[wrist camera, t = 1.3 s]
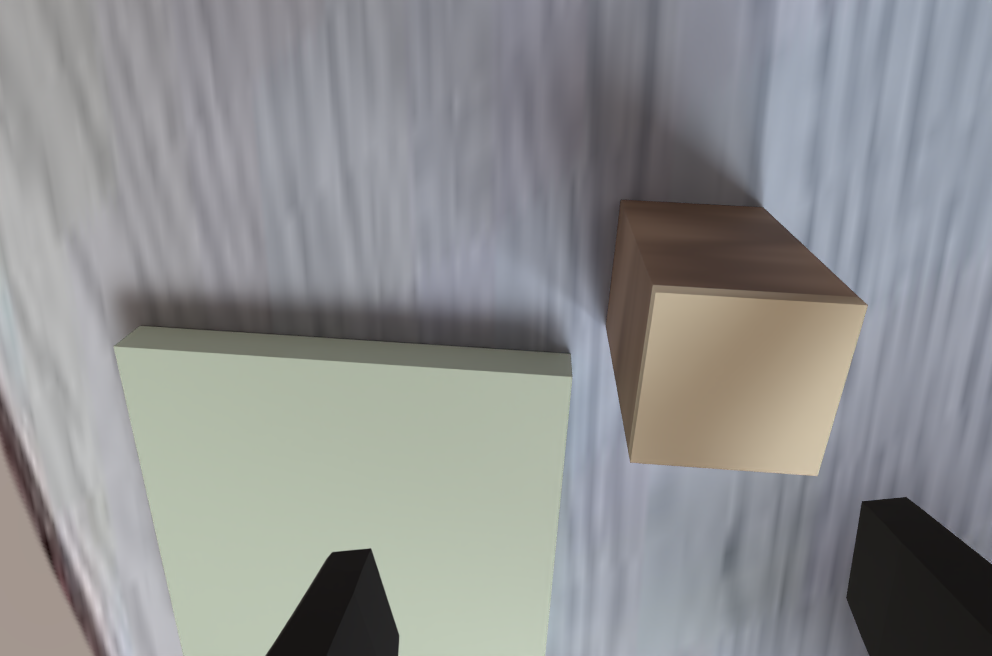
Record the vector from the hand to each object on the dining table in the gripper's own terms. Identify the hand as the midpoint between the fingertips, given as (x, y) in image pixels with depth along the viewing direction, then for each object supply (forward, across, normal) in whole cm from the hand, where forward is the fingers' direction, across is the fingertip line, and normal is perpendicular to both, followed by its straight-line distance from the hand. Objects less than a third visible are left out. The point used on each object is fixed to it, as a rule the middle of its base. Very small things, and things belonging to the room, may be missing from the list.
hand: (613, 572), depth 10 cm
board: (+11, +8, +9) cm, 16 cm away
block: (+11, -4, +1) cm, 12 cm away
